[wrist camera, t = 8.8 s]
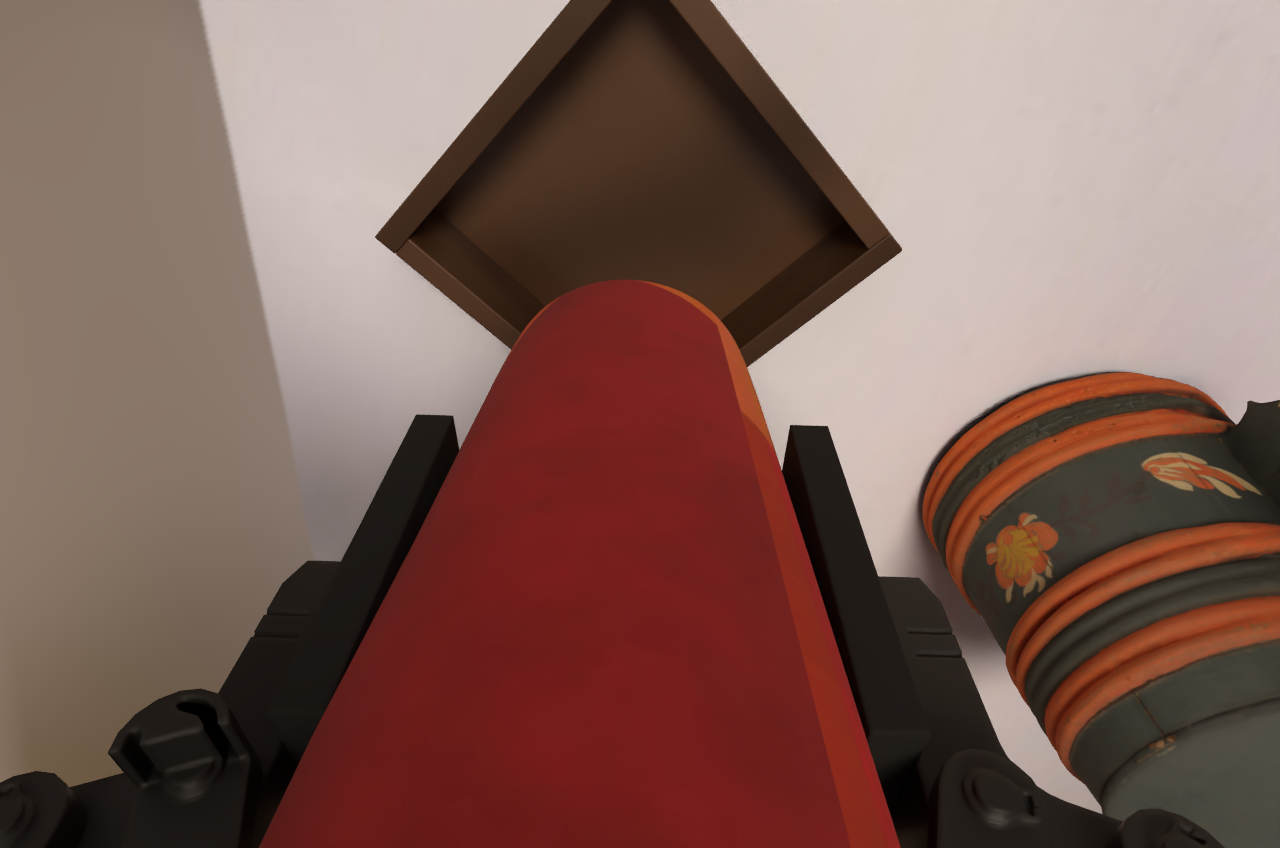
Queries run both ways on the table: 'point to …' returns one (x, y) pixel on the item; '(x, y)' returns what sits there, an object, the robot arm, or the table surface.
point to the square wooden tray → (640, 182)
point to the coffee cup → (600, 622)
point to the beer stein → (1132, 588)
